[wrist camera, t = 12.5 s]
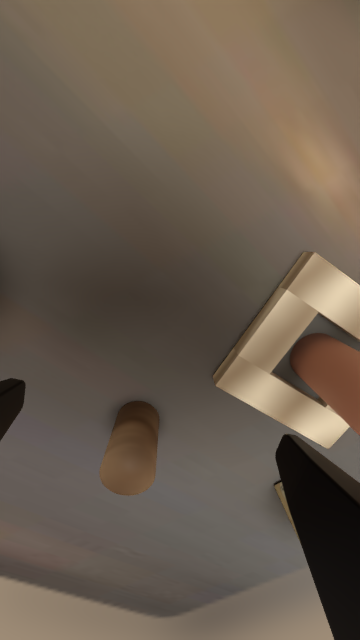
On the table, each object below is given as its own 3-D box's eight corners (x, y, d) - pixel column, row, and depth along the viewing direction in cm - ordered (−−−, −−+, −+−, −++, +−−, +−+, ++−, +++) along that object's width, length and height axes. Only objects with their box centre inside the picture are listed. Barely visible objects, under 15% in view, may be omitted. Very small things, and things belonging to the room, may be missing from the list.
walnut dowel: (109, 425, 24) (89, 482, 18) (130, 394, 23) (116, 442, 17) (145, 443, 24) (137, 502, 19) (167, 413, 23) (165, 466, 18)
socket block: (212, 376, 23) (215, 385, 21) (303, 251, 20) (314, 252, 18) (318, 436, 25) (328, 449, 23) (413, 332, 22) (431, 338, 20)
